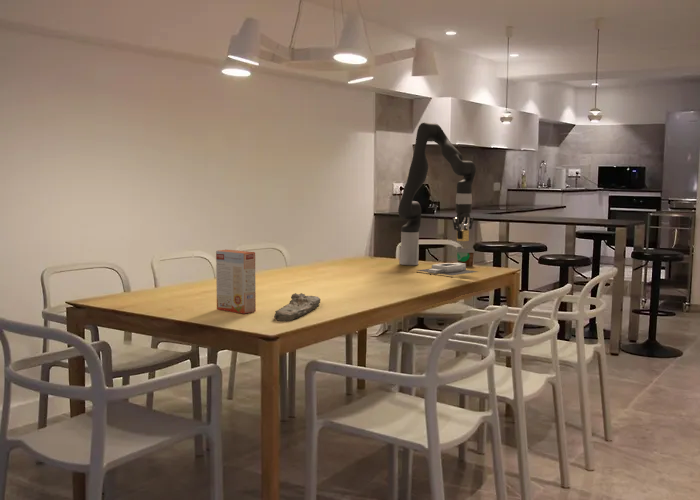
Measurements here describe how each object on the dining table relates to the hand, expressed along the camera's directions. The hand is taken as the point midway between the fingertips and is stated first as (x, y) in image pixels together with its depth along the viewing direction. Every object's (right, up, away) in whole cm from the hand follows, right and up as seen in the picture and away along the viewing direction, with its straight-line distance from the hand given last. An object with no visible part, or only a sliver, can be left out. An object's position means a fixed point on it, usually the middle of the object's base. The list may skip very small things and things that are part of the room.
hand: (462, 238), depth 348 cm
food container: (+4, -14, +26) cm, 30 cm away
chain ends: (-7, -17, +2) cm, 18 cm away
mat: (-7, -17, +2) cm, 18 cm away
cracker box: (-93, -27, -97) cm, 137 cm away
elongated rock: (-72, -27, -97) cm, 124 cm away
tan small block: (0, -1, 0) cm, 1 cm away
